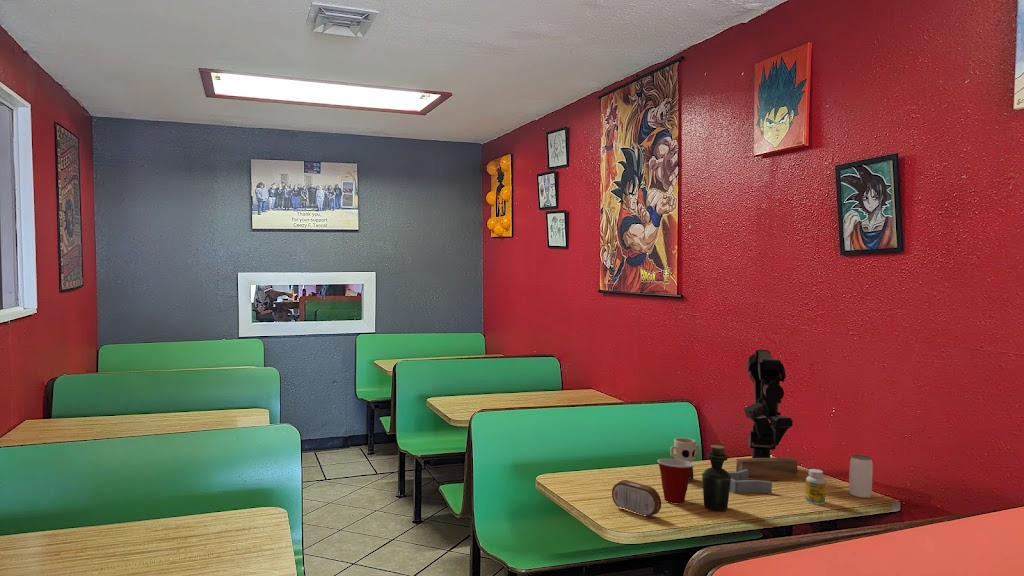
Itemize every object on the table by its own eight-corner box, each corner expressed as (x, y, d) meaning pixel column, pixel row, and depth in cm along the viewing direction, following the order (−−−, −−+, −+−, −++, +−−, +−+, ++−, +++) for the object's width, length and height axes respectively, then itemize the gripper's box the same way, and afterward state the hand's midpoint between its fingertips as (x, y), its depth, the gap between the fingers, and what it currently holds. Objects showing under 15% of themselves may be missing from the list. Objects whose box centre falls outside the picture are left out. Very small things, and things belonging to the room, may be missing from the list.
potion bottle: (695, 507, 205) (697, 446, 205) (709, 501, 211) (711, 441, 211) (721, 514, 200) (723, 451, 199) (735, 508, 206) (737, 447, 205)
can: (869, 499, 217) (870, 461, 216) (846, 495, 220) (847, 457, 220) (873, 494, 222) (874, 456, 221) (851, 490, 226) (852, 453, 225)
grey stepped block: (746, 479, 235) (746, 468, 235) (773, 493, 220) (773, 482, 220) (713, 480, 232) (714, 470, 232) (738, 495, 218) (738, 484, 217)
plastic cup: (697, 499, 213) (698, 459, 213) (687, 509, 204) (688, 468, 204) (662, 492, 219) (664, 454, 218) (651, 502, 209) (652, 462, 209)
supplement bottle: (823, 500, 215) (824, 469, 215) (826, 506, 210) (827, 474, 209) (804, 498, 216) (805, 467, 216) (806, 504, 211) (807, 472, 211)
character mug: (676, 483, 228) (677, 443, 228) (663, 477, 235) (664, 438, 235) (704, 480, 232) (705, 441, 232) (691, 474, 239) (692, 436, 239)
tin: (661, 518, 196) (662, 488, 196) (655, 521, 194) (656, 490, 194) (615, 505, 206) (616, 476, 206) (609, 507, 204) (610, 478, 204)
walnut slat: (736, 475, 240) (736, 458, 240) (790, 474, 243) (791, 457, 243) (741, 479, 236) (742, 461, 236) (797, 478, 239) (797, 460, 239)
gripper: (733, 391, 246) (731, 436, 246) (764, 402, 228) (762, 450, 228) (761, 391, 248) (760, 435, 249) (794, 401, 230) (793, 448, 231)
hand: (767, 442), depth 239 cm, fingers open, 9 cm apart
